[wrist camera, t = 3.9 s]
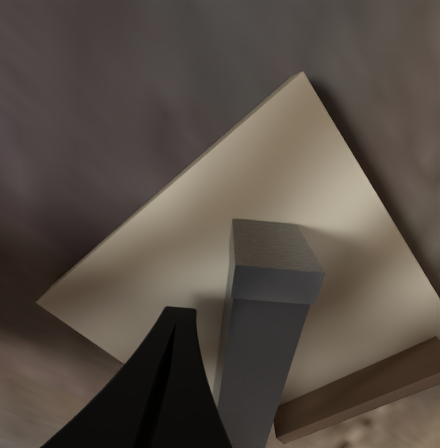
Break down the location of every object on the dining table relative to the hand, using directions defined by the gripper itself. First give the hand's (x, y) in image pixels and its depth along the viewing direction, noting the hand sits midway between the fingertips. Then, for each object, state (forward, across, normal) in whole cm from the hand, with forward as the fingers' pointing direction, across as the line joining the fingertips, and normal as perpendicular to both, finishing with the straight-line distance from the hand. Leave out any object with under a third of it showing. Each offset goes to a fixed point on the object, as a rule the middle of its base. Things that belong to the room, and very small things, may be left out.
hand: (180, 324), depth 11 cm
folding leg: (+1, -3, +2) cm, 4 cm away
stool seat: (+3, -3, +1) cm, 4 cm away
